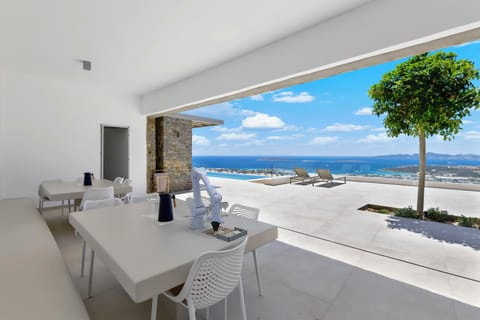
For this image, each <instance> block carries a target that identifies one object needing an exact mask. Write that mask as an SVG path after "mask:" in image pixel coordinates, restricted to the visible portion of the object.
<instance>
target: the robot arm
mask: <svg viewBox="0 0 480 320" xmlns="http://www.w3.org/2000/svg"><path fill="white" fill-rule="evenodd" d="M190 180H191V183H192V195H193V196H192V197H194V204H193V205H192V206H191V211H190V215H191V216H190V217H191V219H190V226H189V229H192V230H195V229H198V230H199V229H203V228H204V216H205V215H206V214H205V213H206V208H205V207H206V206H205V205H206V204H204V203H202V202H201V199H202V194H201V185H200V184H201V183H200V181H202V182H203V184H204V186H205V191H206V192H207V195H208V196H209V202H210V204H211V212H210V214H211V216H207V217H206V221H209V220H211V221H210V225H211V226H212V228H213V230H214V232H215V231H218V228H219V226H221V225H223V224H225V220H224V219H223V218H220V217H221V210H220V202H223V200H222V199H223V197H222V194H221V193H219V192H217V189H216V188H215V186H214V185H213V184H211V181H210V179H209V177H208V172H207V169H206V168H205V167H197V168H195V167H193V168H191V170H190ZM199 206H200V207H199Z"/></svg>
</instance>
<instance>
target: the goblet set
mask: <svg viewBox="0 0 480 320" xmlns="http://www.w3.org/2000/svg"><path fill="white" fill-rule="evenodd" d="M205 208H206V213H205V214H204V215H205V216H206V218H207V217H209V216H208V215H209V214H210V213H211V203H209V204H208V206H205ZM228 208H229V202H228V201H221V202H220V212H222V210H223V209H224V213H226V211H227V209H228ZM224 215H225V216H226V215H227V214H224ZM222 217H223V216H220V218H221V219H223V218H222ZM210 222H212V221H211V220H206V221H203V224H208V223H210Z"/></svg>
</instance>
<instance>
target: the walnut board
mask: <svg viewBox="0 0 480 320" xmlns="http://www.w3.org/2000/svg"><path fill="white" fill-rule="evenodd" d="M218 230H221V231H224V235H226V234H230V233H232V232H234V229H232V228H227V227H225V226H221V225H219V228H218ZM201 233H202V234H205V235H208V236H210V237H212V238H213V237H214V238H216V235H214V230H213V227H212V228H209V229H207V230H203V231H201Z"/></svg>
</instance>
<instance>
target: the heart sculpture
mask: <svg viewBox="0 0 480 320" xmlns="http://www.w3.org/2000/svg"><path fill="white" fill-rule="evenodd" d="M201 202H202V203H203V199H202V198H201ZM193 204H194V196H189V197H188V196H187V197H186V198H185V205H186V208H187V209H188V210H189V211H190V212H191V206H192V205H193ZM203 204H204V203H203ZM199 207H200V206H199ZM191 217H192V216H188V217H187V219H190V220H191Z"/></svg>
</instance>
